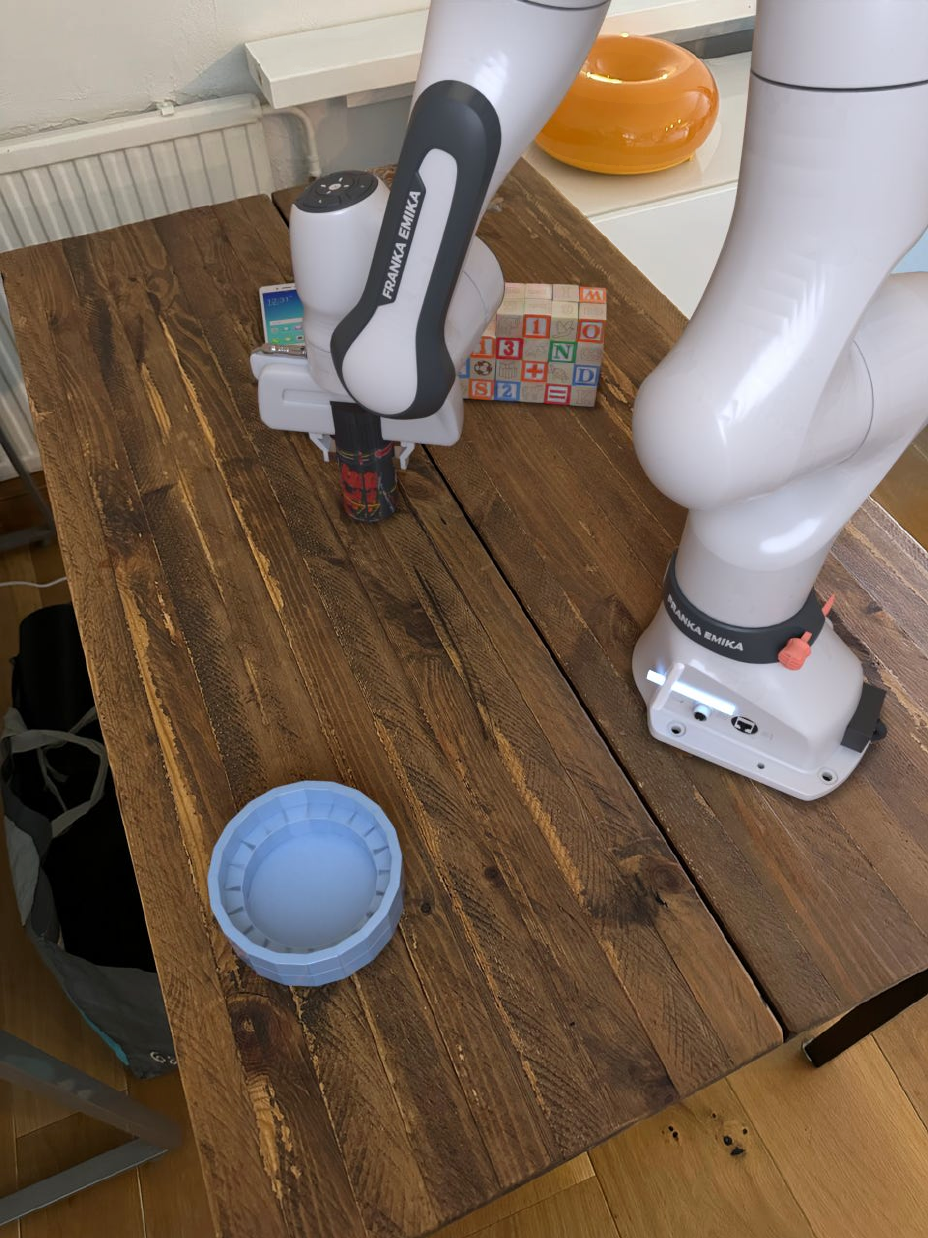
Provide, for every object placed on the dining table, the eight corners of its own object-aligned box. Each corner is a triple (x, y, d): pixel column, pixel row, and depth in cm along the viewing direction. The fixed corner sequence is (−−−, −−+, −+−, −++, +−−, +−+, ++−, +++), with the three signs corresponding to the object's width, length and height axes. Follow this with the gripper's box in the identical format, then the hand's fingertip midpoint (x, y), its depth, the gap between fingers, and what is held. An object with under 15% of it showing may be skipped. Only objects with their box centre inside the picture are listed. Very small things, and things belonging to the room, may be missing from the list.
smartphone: (265, 355, 118) (257, 286, 127) (267, 361, 119) (259, 292, 128) (325, 348, 119) (313, 280, 128) (326, 353, 120) (314, 285, 128)
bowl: (442, 882, 77) (440, 851, 73) (318, 1030, 70) (307, 1007, 66) (312, 782, 83) (303, 748, 78) (186, 911, 76) (167, 882, 71)
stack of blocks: (417, 397, 114) (413, 309, 105) (423, 365, 118) (419, 276, 108) (595, 407, 113) (607, 318, 103) (596, 374, 117) (607, 285, 107)
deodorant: (336, 493, 105) (319, 383, 93) (386, 477, 106) (376, 367, 94) (355, 529, 101) (340, 420, 89) (407, 512, 103) (398, 402, 91)
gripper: (236, 362, 87) (262, 472, 98) (456, 382, 85) (457, 492, 96) (255, 321, 91) (278, 432, 102) (466, 340, 89) (466, 450, 100)
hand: (367, 461), depth 99 cm, fingers closed on deodorant, 6 cm apart
